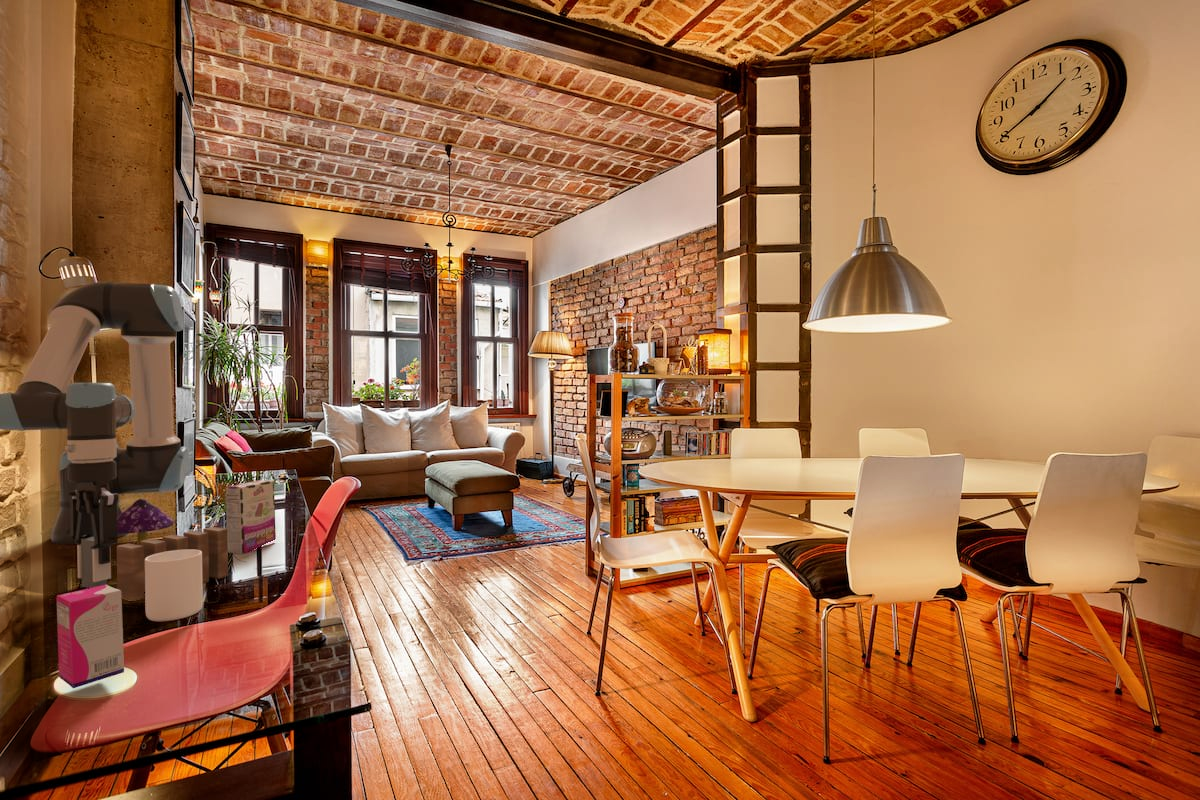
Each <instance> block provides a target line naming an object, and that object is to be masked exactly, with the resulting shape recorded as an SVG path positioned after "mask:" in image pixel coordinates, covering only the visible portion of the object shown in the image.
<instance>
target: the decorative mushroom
mask: <svg viewBox="0 0 1200 800" xmlns="http://www.w3.org/2000/svg"><path fill="white" fill-rule="evenodd" d="M122 512H123V513H122V514H121V515H119V516H118V517H117V532H118V534H126V535H129V534H137V539H136V545H140V541H144V540H148V532H153V531H159V530H163V529H167V528H170V527H172V526H173V525H174V524H175V523H176V522H175V520H174V519H173V518H172V517H170V516H169V515H168V514H166V513H165V512H164V511H163V510H161V508H159V507H157V506H155V505H153V504H152V503H150V502H148V500H147V499H145V498H139V499H136V500H135V501H134V502H133V504H132V505H130V506H129V507H127V508H126V509H125V510H124V511H122Z"/></svg>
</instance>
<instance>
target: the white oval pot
mask: <svg viewBox="0 0 1200 800" xmlns="http://www.w3.org/2000/svg"><path fill="white" fill-rule="evenodd" d="M203 595H204V594H203V583H202V551H200V550H194V549H185V550H174V551H167V552H162V553H157V554H154V555H151V556H148V557H146V558H145V593H144V600H145V601H144V602H145V603H144V605H145V607H144V608H145V609H144V610H145V611H144V612H145V616H146V618H147V619H148V620H149V621H150V622H151V621H152V622H169V621H175V620H180V619H184V618H189V617H191V616H194V615H195V614H198V613H199V612H200V611H201V610H202V608H203V604H204V603H203V600H204V599H203Z"/></svg>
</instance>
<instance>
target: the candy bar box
mask: <svg viewBox="0 0 1200 800" xmlns="http://www.w3.org/2000/svg"><path fill="white" fill-rule="evenodd" d="M224 489H225V490H224V491H225V493H224V494H225V513H226V514H225V515H226V517H225V518H226V522H225V523H226V529H227V537H228V554H229V553H230V554H238V555H245V554H247V553H251V552H253V551H252V550H254V549H256V548H258V547H260V546H262V545H264V544H266V543H268V542H271V541H273V540H275V539H276V538H277V537H276V509H275V508H276V507H275V504H276V503H275V502H276V501H275V480H269V479H268V480H267V479H263V480H262V479H260V480H255V481H249V482H244V483H239V484H235V485H230V486H226V487H225V488H224ZM276 540H277V539H276ZM250 551H251V552H250ZM254 551H255V550H254Z"/></svg>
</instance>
